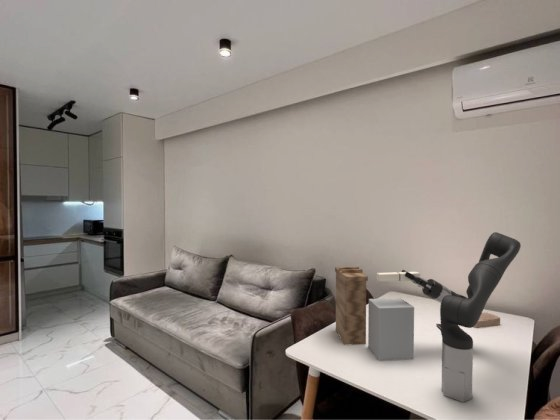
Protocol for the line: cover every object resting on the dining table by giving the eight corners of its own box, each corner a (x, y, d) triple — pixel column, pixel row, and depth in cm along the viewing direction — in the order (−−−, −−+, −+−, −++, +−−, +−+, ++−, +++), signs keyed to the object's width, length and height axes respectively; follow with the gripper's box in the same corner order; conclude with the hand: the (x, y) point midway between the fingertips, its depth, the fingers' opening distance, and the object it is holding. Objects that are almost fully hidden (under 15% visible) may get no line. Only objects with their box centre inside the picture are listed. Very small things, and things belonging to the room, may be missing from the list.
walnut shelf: (353, 327, 162) (353, 263, 161) (367, 345, 142) (367, 273, 141) (334, 328, 161) (334, 264, 160) (346, 346, 141) (346, 273, 140)
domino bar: (416, 278, 137) (416, 271, 137) (420, 280, 134) (420, 273, 134) (376, 279, 135) (376, 272, 135) (379, 281, 132) (379, 274, 132)
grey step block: (400, 345, 142) (400, 297, 141) (413, 359, 130) (414, 307, 129) (368, 347, 141) (368, 298, 140) (378, 360, 129) (379, 308, 128)
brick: (475, 329, 160) (475, 320, 160) (462, 322, 168) (462, 314, 168) (501, 326, 164) (501, 317, 164) (487, 320, 172) (487, 311, 172)
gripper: (431, 279, 143) (400, 261, 142) (450, 288, 129) (416, 268, 128) (423, 293, 143) (392, 276, 142) (442, 304, 129) (407, 284, 128)
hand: (403, 272), depth 135 cm, fingers closed on domino bar, 3 cm apart
